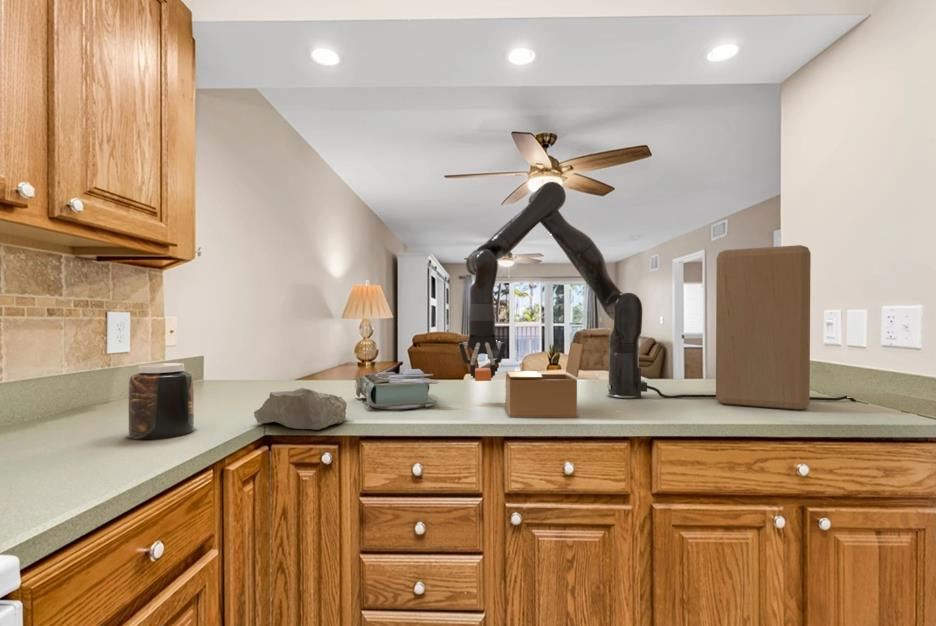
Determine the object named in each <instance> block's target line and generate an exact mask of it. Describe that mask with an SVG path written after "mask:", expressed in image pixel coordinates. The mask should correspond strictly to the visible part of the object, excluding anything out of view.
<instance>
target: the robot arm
mask: <svg viewBox="0 0 936 626" xmlns="http://www.w3.org/2000/svg"><path fill="white" fill-rule="evenodd" d="M566 199H567V194H566V190H565V188H564V187H563V186H562V185H561V183H558V182H556V181H548V182H547V181H546V182H545V183H543V184H542V185H540V186H539V187H538V188H537V189H535V190H534V191H533V192H532V193H531V194H530V195H529V198H528V202H527V203H528V204H527V205H526V206H525V207H524V208H523V209H521V211H519V212H518V213H517V214H516V215H514V216H513V217H512V218H511V219H510V220H508V221H507V222H506V223H505V224H504V225H502V227H500V228H499V229H498V230H497V231H496V232H495V233H494V234H492V236H491V237H490V238H489V239H488V240H487V241H485V242H484V243H482V244H481V245H479V246H478V247H477V248H475V249H474V250H473V251H472V252H471V253H470V254H468V256H467V258H466V259H465V260H466V261H465V269H466V271H467V272H468V273H469V274H470V275H472V276H475V279H474V283H473V284H471V285H470V287H469V312H468V331H469V333H468V340H467V341H466V342H460V343H459V344H458V347H459V349H460V352H461V356H462V359H463V363H464V364H467V365H469V367H470V369H469V370H470V371H469V372H470V373H469V374H470V376H471V377H472V379H475V368H476V364H475V363H476V360H477V357H478V355H487V356H488V360H489V362H490V364H489V368H490V370H491V379H494V377H495V376H496V365H498V364H500V363H501V362H502V360H503V356H504V353H505V349H506V345H507V344H506V342H501V341H498V340H497V338H496V309H495V292H494V291H495V290H494V289H495V285H496V282H497V281H496V280H497V275H498V270H499V262H498V260H499V259H502V258H504V257H506V256H507V255H509V253H511V252H512V251H513V250H514V249H515V248H516V247H517V246H518V245H519V244H520V242H522V241H523V240H524V239H525V237H526V236H527V235H528V234H529V233H530V232H531V231H532V230H533V229H534V228H535V227H536V226H537V225H538V224H541V225H542V226H543V227H544V229H545V230H546V231H547V232H548V233H549V234H550V235H551V237H552V238H553V239H554V240H555V242H556V243H557V245H558V246H559V248H560V249H561V250H562V251H563V253H564V254H565V256H566V257H567V259H568V261H569V262H570V263H571V264H572V265H573V267H574V268H575V270H576V271H577V272H578V274H579V275H580V276H581V278H582V279H583V280H584V281H585V283H586V284H587V286H588V287H589V288H590V289H591V290H592V293H594V295H595V297H596V298H597V300H598V302H599V304H600V306H601V307H602V309H603V311H604V312H605V314H606V315H607V317H608V318H609V319H611V320H612V321H613V327H612V331H611V332H610V333H609V335H608V383H607V384H606V388H607V389H608V393H607V395H608V397H610V398H616V399H638V398H640V399H642V393H647V392H648V390H651V391H653V392H656V393H657V394H658V395H659V396H660V397H661V398H664V399H681V398H716V394H676V395H667V394H663V393H662V392H661V390H660V389H659V388H657V387H654V386H651V385H648V382H646V381H645V380H642V367H640V337H641V334H642V330H643V329H642V328H643V303H642V301H641V299H640V297H639V296H638V295H637V294H635V293H633V292H622V291H621V290H620V288H619V287H618V286H617V284H615V282H614V281H613V280H612V278H611V276H610V273H609V270H608V267H607V263H606V260H605V257H604V256H603V254H602V253H603V252H601V250H600V249H599V247H598V246H597V245H596V244H595V242H594V241H593V239H592V238H591V237H590V236H589V235H587V234H586V233H585V232H583V231H582V230H580V229H578V228H576V227H575V226H573V225H572V224H571V223H570V222H568V221H567V220H566V219H565V218H564V216H563V214H562V213H561V212H560V211H559V210H560V209H562V208H563V206H564V205H565V203H566ZM468 346H469V348H470V349H471V350H472V354H471V358H470V359H469V358H468V355H467V352H466V350H467V349H468ZM496 346H497V350H498V353H497V357H496V358H494V354H493V350H494V348H495V347H496ZM847 396H848V395H844V396H838V397H825V396H824V397H823V396H820V397H819V396H810V401H829V402H830V401H831V402H833V401H835V402H837V401H842V400H850V401H851V402H857V400H856V399H855V398H854V397H852V398H847Z"/></svg>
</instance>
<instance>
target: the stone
mask: <svg viewBox="0 0 936 626" xmlns="http://www.w3.org/2000/svg"><path fill="white" fill-rule="evenodd" d="M347 406H348V405H347V401H346V400H345V398H343V397H341V396H337V395H334V394H330V393H323V392H319V391H315V390H313V389H309V388H304V387H300V388H297V389H295V390H284V391H283V390H282V391H271V392H270V393H269V397H267V399H266V400H265V401H264V402H263V404H262V406H260V408H258V409H256V410H254V411H253V415H254V416H253V417H254V418H255V421H256V422H257V423H258V424H268V423H273V422H275V423H278V424H280V425H282V426H284V427H286V428H290V429H298V430H314V431H315V430H316V431H318V430H322V429H324V428H327V427H329V426H332V425H339V424H342V423H344V422H345V421H346V417H347V415H346V414H347V411H346V410H347Z"/></svg>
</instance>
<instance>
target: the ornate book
mask: <svg viewBox="0 0 936 626" xmlns="http://www.w3.org/2000/svg"><path fill="white" fill-rule="evenodd" d="M430 376H431V377H432V376H434V373H425V372H424V371H422V370H421V369H420V368H406V369H404V370H402V371H400V372H399V373H396V371H390V372H387V371H381V372H374V373H366V374H365V375H364V374H363V376H361V377H360V374H357V376H356V377H355V383H354V384H355V385H354V386H355V394H356V396H357V397H358V398H360V397H361V396H363V397H364V398H365V400H366V401H365V402H366V405H367V406H369V407H371V408H375V409H381V410H411V409H419V408H424V407H426V408H428V407H431V406H433V405H435V404H438V403H439V401H438V400H436V399H434V398H432V397H431V396H429V391H430V389H431V388H430V385H435V384H436V385H438V384H446V382H444V381H439V380H436V379H431V378H427V377H430Z"/></svg>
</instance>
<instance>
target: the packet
mask: <svg viewBox="0 0 936 626" xmlns="http://www.w3.org/2000/svg"><path fill="white" fill-rule="evenodd" d="M474 381H475V382H492V378H491V370H490V367H475V378H474Z"/></svg>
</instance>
